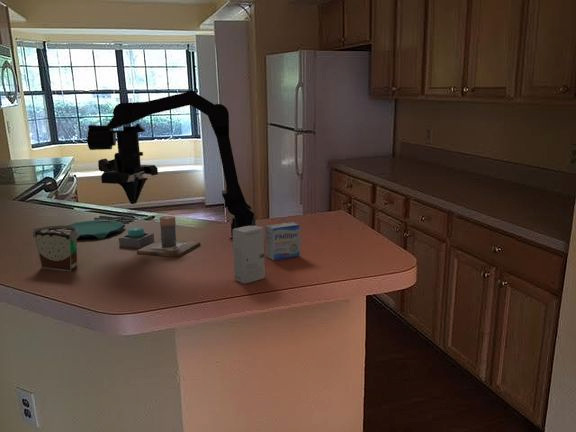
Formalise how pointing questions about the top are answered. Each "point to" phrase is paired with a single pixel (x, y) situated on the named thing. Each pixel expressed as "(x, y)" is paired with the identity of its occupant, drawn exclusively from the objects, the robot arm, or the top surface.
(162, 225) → the pink and grey capsule
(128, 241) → the button housing
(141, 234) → the button
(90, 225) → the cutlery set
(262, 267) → the skincare box
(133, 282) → the top surface
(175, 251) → the drawing board
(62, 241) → the food container
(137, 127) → the robot arm
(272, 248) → the medicine box
